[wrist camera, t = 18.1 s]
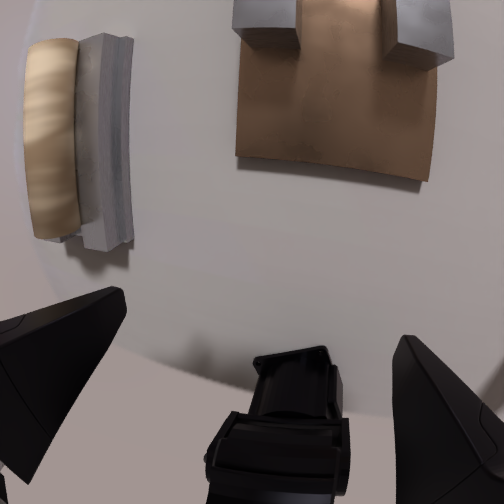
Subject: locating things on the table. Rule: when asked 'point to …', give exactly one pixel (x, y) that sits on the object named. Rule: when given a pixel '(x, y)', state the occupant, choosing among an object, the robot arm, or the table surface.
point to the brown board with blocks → (341, 81)
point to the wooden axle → (51, 137)
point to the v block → (102, 142)
